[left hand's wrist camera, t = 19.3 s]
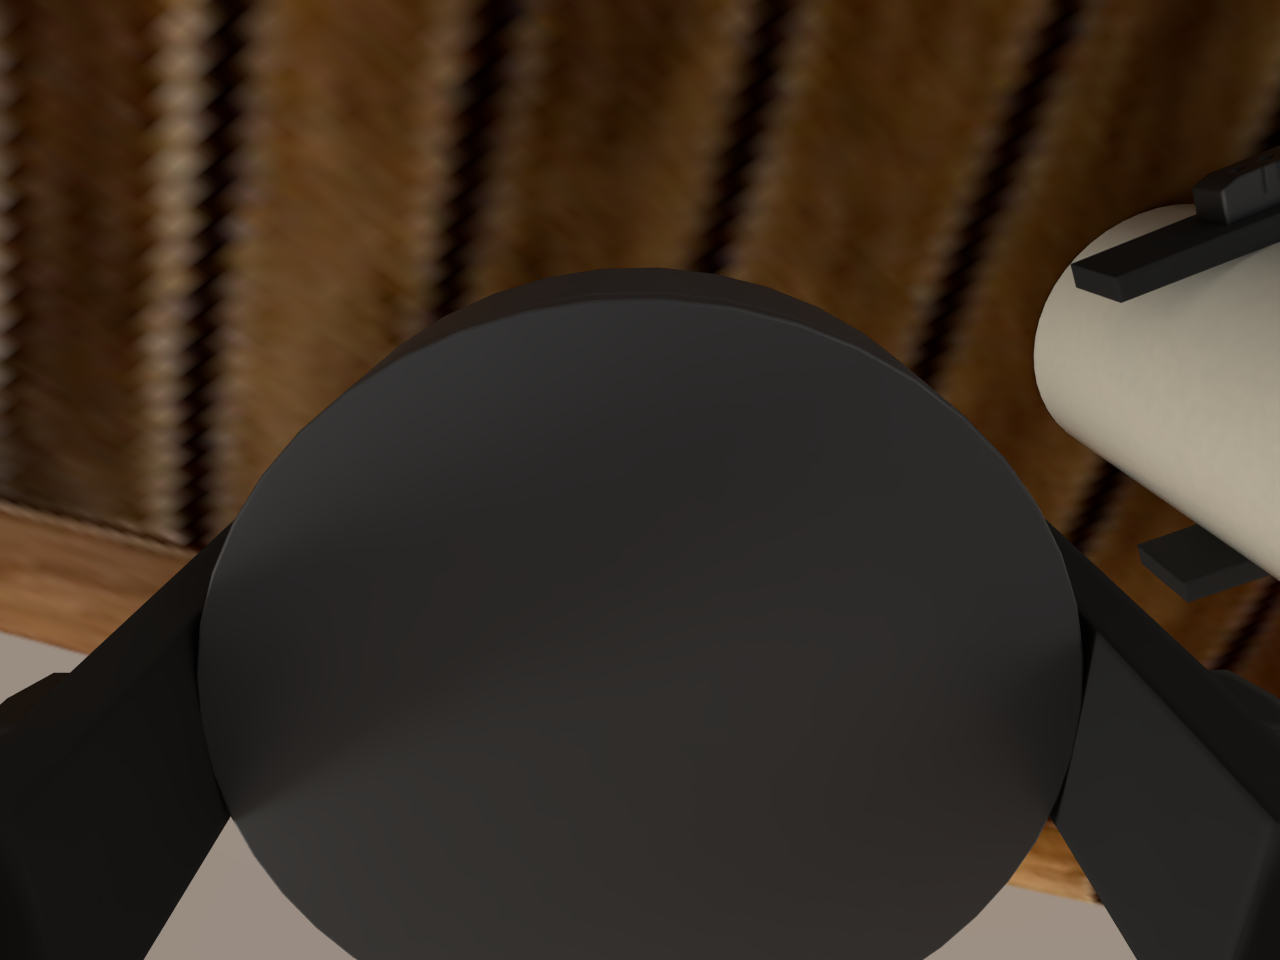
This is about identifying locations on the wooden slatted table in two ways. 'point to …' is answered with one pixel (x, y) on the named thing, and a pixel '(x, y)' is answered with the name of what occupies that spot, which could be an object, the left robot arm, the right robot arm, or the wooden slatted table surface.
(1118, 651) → the left robot arm
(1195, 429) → the jar
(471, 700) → the lid
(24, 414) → the wooden slatted table surface
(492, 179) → the wooden slatted table surface
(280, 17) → the wooden slatted table surface
